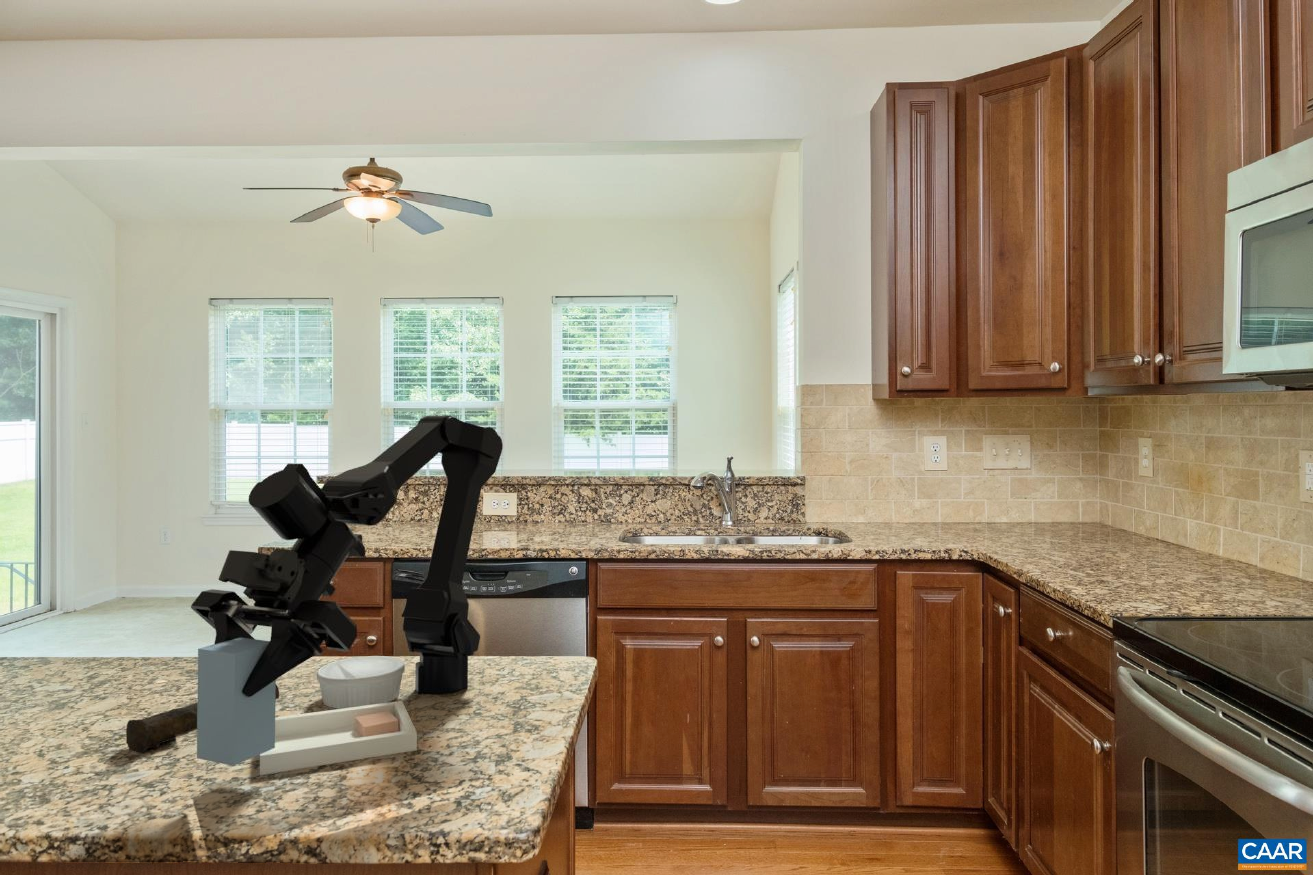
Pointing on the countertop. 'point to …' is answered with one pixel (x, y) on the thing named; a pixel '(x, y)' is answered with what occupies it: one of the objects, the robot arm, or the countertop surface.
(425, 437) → the robot arm
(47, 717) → the countertop surface
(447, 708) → the countertop surface
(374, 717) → the terracotta tile
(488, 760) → the countertop surface
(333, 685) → the ramekin
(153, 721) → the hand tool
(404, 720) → the tray
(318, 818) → the countertop surface
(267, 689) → the blue block
